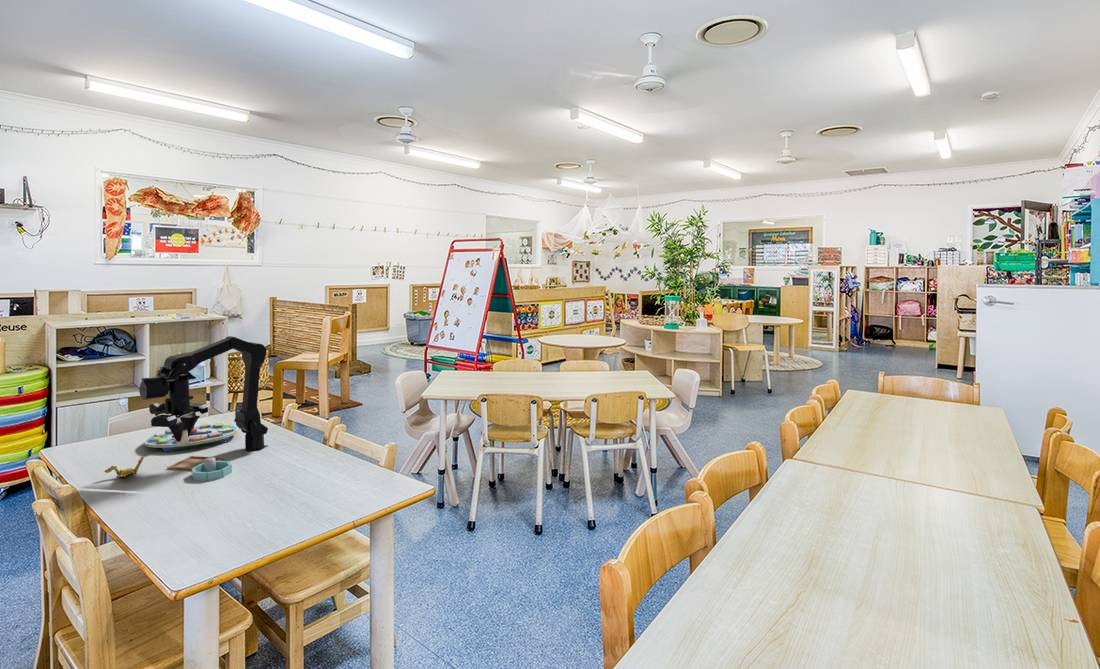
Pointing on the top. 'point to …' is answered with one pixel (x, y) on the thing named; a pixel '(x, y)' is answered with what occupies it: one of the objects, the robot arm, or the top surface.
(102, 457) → the top surface
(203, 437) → the shape sorting clock
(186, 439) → the sand beige cylinder
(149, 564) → the top surface
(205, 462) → the grey rounded cylinder
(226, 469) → the bowl
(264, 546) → the top surface
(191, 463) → the parts tray
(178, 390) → the robot arm
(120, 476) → the olive plastic animal figure
